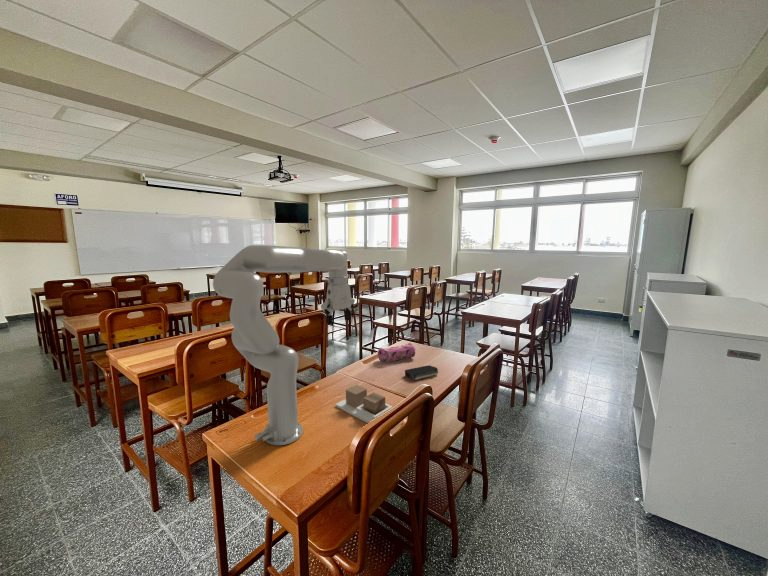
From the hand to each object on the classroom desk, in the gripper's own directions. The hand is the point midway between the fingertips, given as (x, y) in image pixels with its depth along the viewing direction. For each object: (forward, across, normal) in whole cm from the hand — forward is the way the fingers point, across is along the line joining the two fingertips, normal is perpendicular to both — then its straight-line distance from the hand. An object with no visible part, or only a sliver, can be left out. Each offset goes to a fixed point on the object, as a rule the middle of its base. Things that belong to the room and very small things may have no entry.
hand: (338, 322), depth 127 cm
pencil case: (+34, +50, +9) cm, 61 cm away
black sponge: (+34, +42, -14) cm, 56 cm away
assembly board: (+33, 0, -15) cm, 37 cm away
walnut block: (+32, 0, -20) cm, 38 cm away
